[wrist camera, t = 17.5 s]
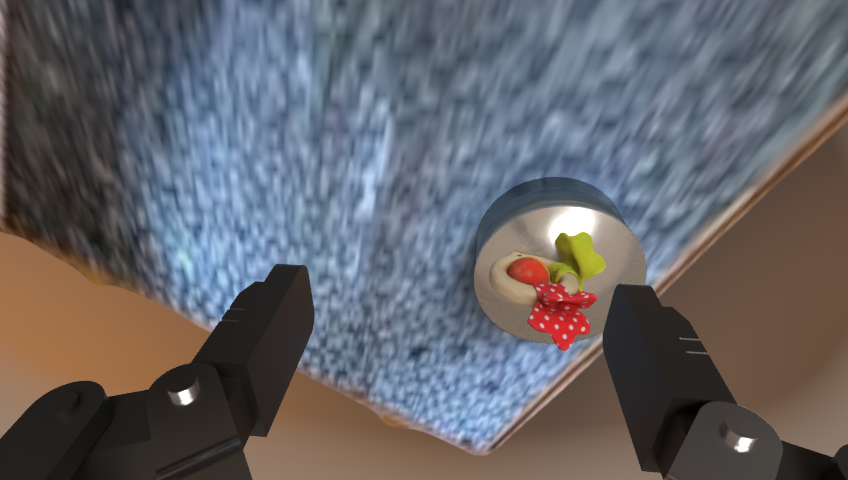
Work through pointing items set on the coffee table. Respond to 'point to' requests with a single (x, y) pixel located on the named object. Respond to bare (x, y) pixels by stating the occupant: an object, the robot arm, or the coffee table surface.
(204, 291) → the coffee table surface
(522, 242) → the biscuit tin
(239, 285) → the coffee table surface
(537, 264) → the bird rattle
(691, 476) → the robot arm
